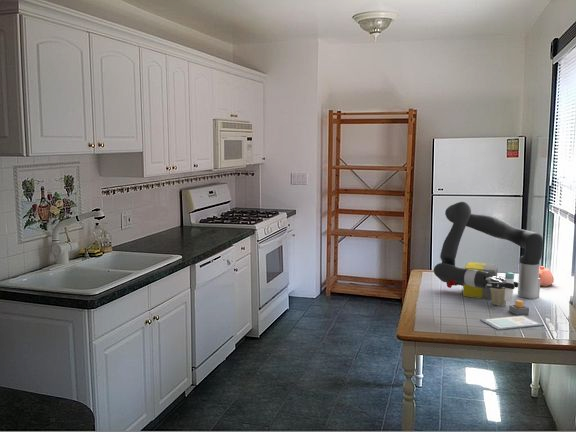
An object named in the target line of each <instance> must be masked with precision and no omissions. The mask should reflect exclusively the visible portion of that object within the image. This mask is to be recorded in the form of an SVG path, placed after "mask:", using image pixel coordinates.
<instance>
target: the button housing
mask: <svg viewBox="0 0 576 432" xmlns="http://www.w3.org/2000/svg"><path fill="white" fill-rule="evenodd" d="M508 307H509V308H508V311H509V313H511V314H514V315H515V316H521V315H525V316H527V315H529V313H530V307H529V306H527V305H526V306H525V305H524V306H523V308H517V307H515V304H509V306H508Z"/></svg>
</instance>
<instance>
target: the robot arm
mask: <svg viewBox="0 0 576 432" xmlns="http://www.w3.org/2000/svg"><path fill="white" fill-rule="evenodd" d="M444 213H445V214H444V215H445V217H446V219H447V220H448V221H449V222H450V223H452V226H451V228H450V230H449V232H448V234H447V236H446V237H445V239H444V240H443V243H442V247H441V252H440V254H439V255H440V256H439V257H440V260H441V263H437V264H436V265H434V267H433V273H434V275H435V276H436V277H437V278H438V279H439V280H440V281H441V282H442V283H443V282H444V283H446V282H449V281H451V280H454V281H455V282H457V283H461V284H466V285H469V286H473V287H478V288H483V289H487V288H498V289H502V288H509V289H513V290H514V289H515V288H517V296H518V297H520V298H524V299H537V298H540V289H541V285H540V278H539V268H540V261H541V259H542V255H543V247H544V240H543V237H542V235H541V234H540V233H538V232H535V231H531V230H526V229H522V228H519V227H515V226H513V225H512V224H510V223H508V222H507V221H505V220H503V219H500V218H498V217H496V216H493V215H486V214H477V213H472V207H471V206H470V204H469V203H468V202H465V201H459V202H456V203H453V204H452V205H450V206H448V207H447V208H446V209H445V212H444ZM466 227H468V228H470V229H473V230H475V231H478V232H480V233H483V234H485V235H488V236H491V237H494V238H497V239H500V240H504V241H505V240H506V241H508V242H511V243H513V244H515V245H517V246H519V247H520V248H522V249H524V253H523V255H521V256H520V257H519V263H518V264H519V267H518V282H517V281H513V284H512V283H505V279H506V278H505V277H504V276H497V277H495V276H493V277H491V275H490V273H489V272H485V271H479V270H471V269H464V268H465V267H464V268H463V267H458V266H456V257H457V254H458V250H459V245H460V241H461V239H462V236H463V233H464V231H465V229H466Z"/></svg>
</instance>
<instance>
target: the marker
mask: <svg viewBox="0 0 576 432" xmlns="http://www.w3.org/2000/svg"><path fill="white" fill-rule="evenodd" d="M504 274H505V275H504V276H505V278H506V279H505V283H512V284H513V281H514V280H515V279H514V278H515V273H514V272H513V271H512V272H509V271H508V272H505V273H504ZM514 282H515V281H514ZM513 296H514V289H509V288H505V298H504V300H505V301H506V302H513V300H514V299H513V298H514V297H513Z"/></svg>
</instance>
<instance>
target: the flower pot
mask: <svg viewBox="0 0 576 432" xmlns="http://www.w3.org/2000/svg"><path fill="white" fill-rule="evenodd" d="M490 290H491V299H490V300H491V304H492V305H494V306H498V307H502V306H505V305H506V304H507V301H505V300H504V298H505V288H502V289H498V288H490Z"/></svg>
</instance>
